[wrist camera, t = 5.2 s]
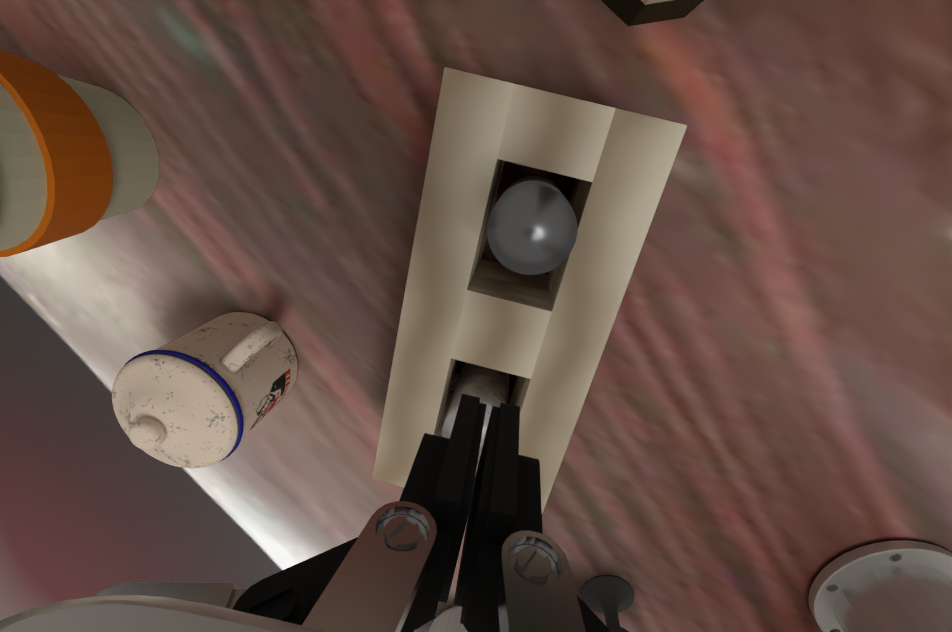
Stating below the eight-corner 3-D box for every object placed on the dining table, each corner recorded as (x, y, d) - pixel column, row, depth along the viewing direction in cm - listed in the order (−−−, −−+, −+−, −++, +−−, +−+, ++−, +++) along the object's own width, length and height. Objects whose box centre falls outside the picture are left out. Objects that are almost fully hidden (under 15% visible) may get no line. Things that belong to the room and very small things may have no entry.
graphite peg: (573, 185, 26) (589, 197, 19) (554, 250, 27) (561, 284, 20) (507, 168, 26) (498, 175, 19) (491, 234, 27) (478, 263, 20)
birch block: (646, 132, 28) (687, 125, 21) (537, 451, 38) (538, 524, 30) (466, 88, 29) (444, 66, 21) (403, 415, 38) (372, 479, 31)
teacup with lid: (261, 420, 40) (161, 519, 29) (183, 349, 39) (46, 427, 28) (345, 345, 37) (267, 426, 26) (263, 263, 35) (142, 313, 24)
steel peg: (515, 363, 34) (511, 417, 27) (502, 406, 36) (495, 467, 29) (465, 350, 34) (448, 401, 27) (455, 393, 36) (436, 452, 29)
